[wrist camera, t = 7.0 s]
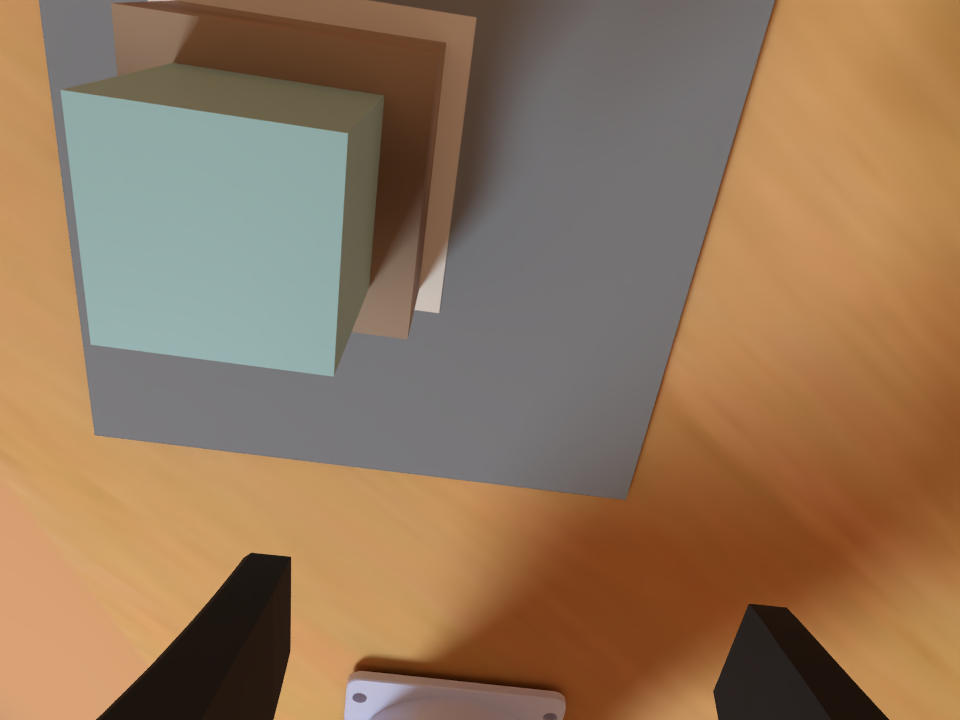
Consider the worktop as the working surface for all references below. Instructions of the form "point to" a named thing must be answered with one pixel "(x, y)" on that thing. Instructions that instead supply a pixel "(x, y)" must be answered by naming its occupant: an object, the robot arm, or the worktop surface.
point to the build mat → (484, 246)
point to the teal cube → (224, 213)
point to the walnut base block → (332, 63)
